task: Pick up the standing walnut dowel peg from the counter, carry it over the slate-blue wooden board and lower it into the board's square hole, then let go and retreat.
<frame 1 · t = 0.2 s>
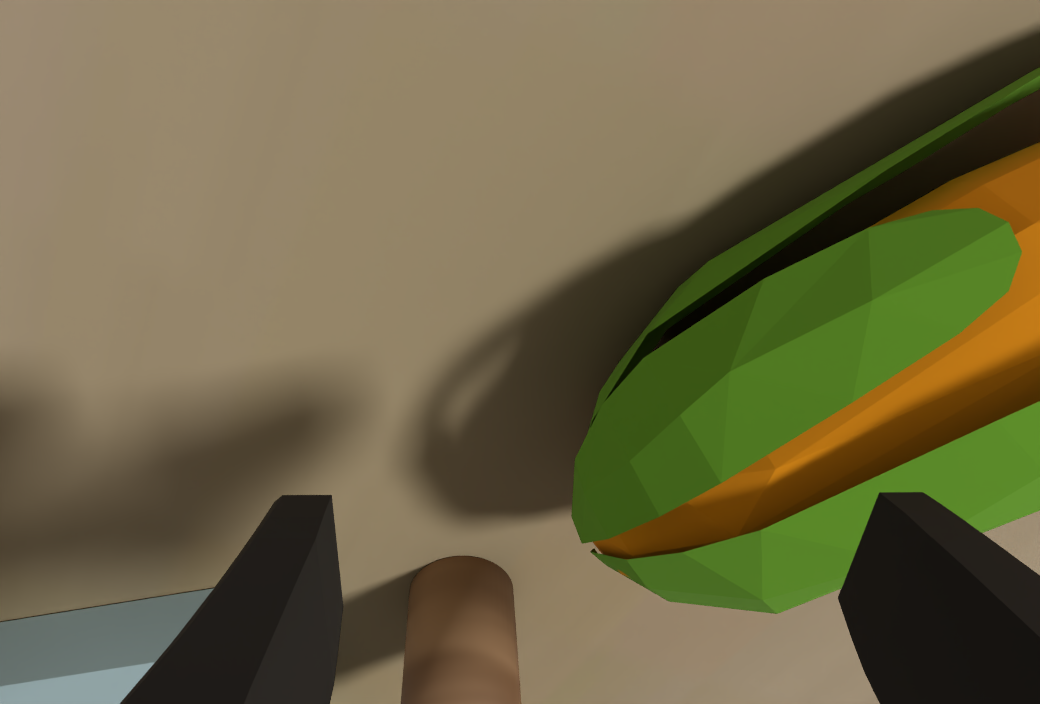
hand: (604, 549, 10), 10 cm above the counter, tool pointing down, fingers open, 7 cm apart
corn: (882, 241, 19), on the counter
peg: (461, 592, 25), on the counter
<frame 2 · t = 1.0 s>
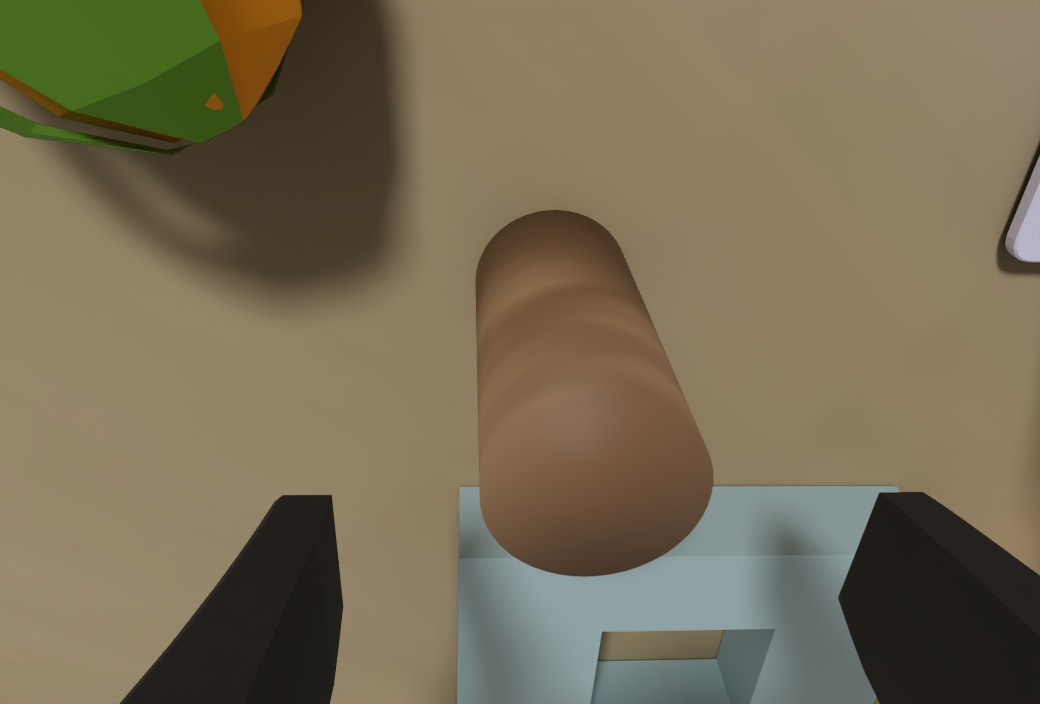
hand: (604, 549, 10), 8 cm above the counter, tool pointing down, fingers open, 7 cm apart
board: (656, 611, 23), on the counter
peg: (551, 282, 17), on the counter
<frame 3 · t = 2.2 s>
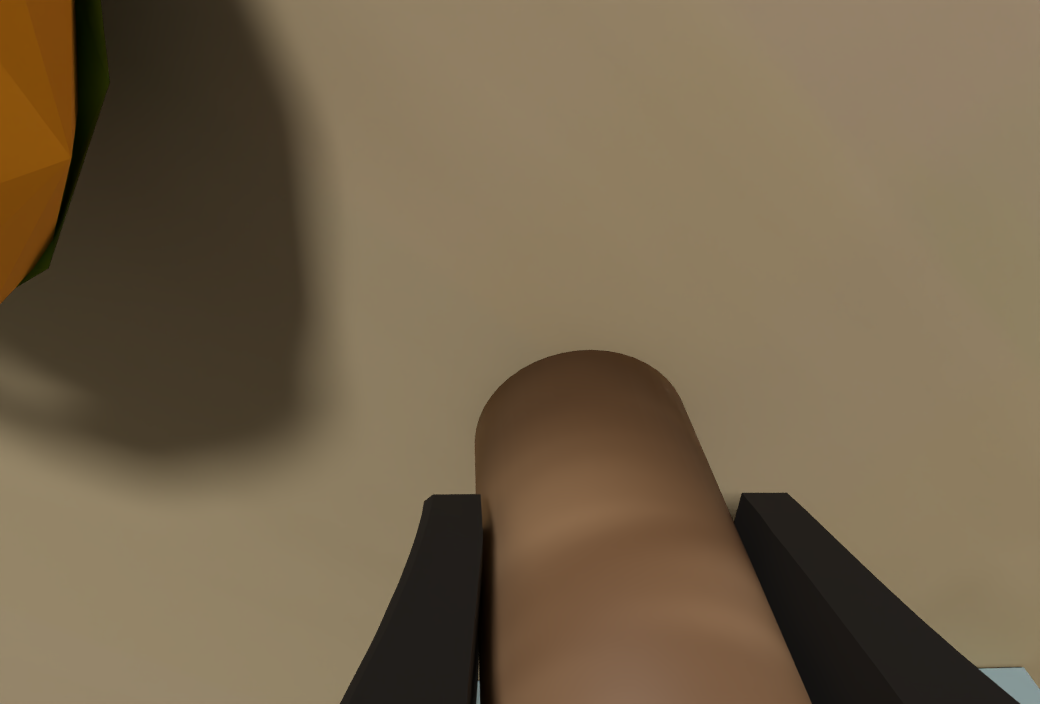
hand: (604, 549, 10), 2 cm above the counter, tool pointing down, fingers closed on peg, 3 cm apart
peg: (581, 441, 12), on the counter, touching gripper
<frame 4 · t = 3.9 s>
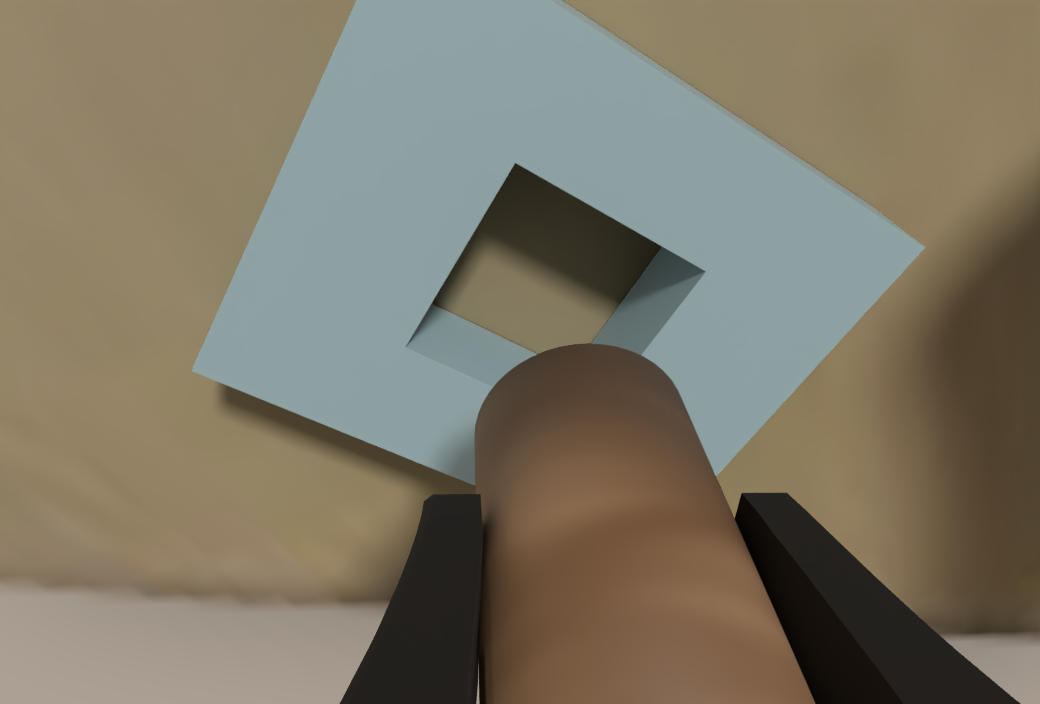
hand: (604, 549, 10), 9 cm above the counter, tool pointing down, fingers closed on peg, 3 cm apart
board: (542, 260, 18), on the counter
peg: (580, 435, 12), point 7 cm above the counter, touching gripper
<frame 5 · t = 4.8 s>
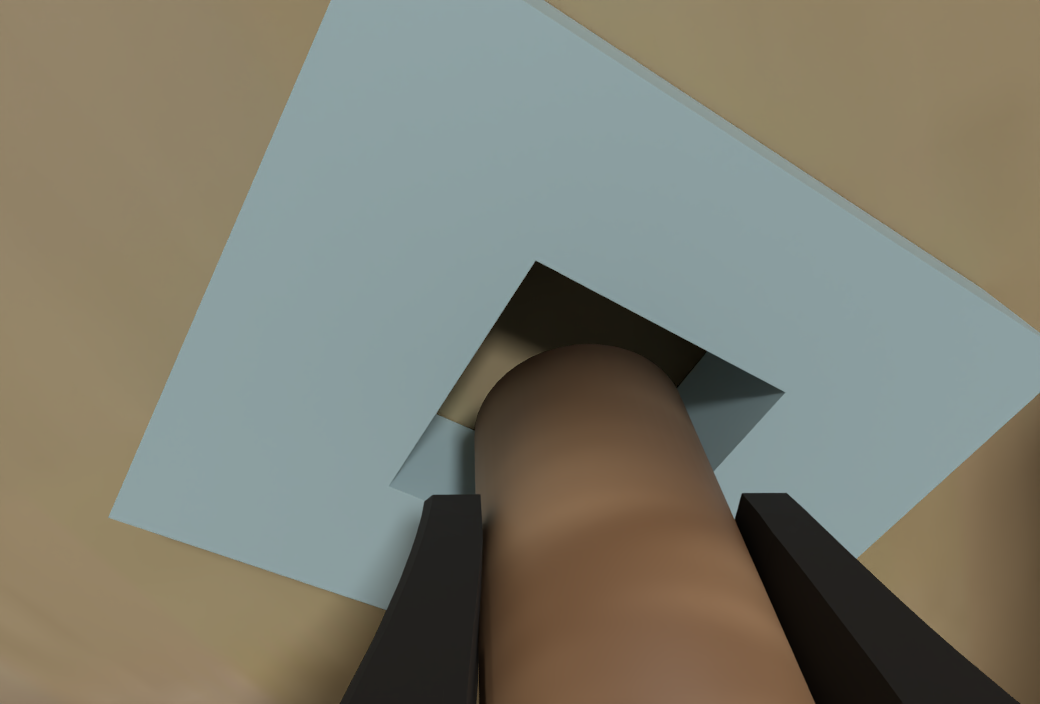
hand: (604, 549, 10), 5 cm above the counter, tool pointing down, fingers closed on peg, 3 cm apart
board: (565, 357, 14), on the counter
peg: (580, 435, 12), point 2 cm above the counter, touching gripper
when the fingers open (3 cm above the counter, at t = 5.5 s): peg stays where it is, resting in board.
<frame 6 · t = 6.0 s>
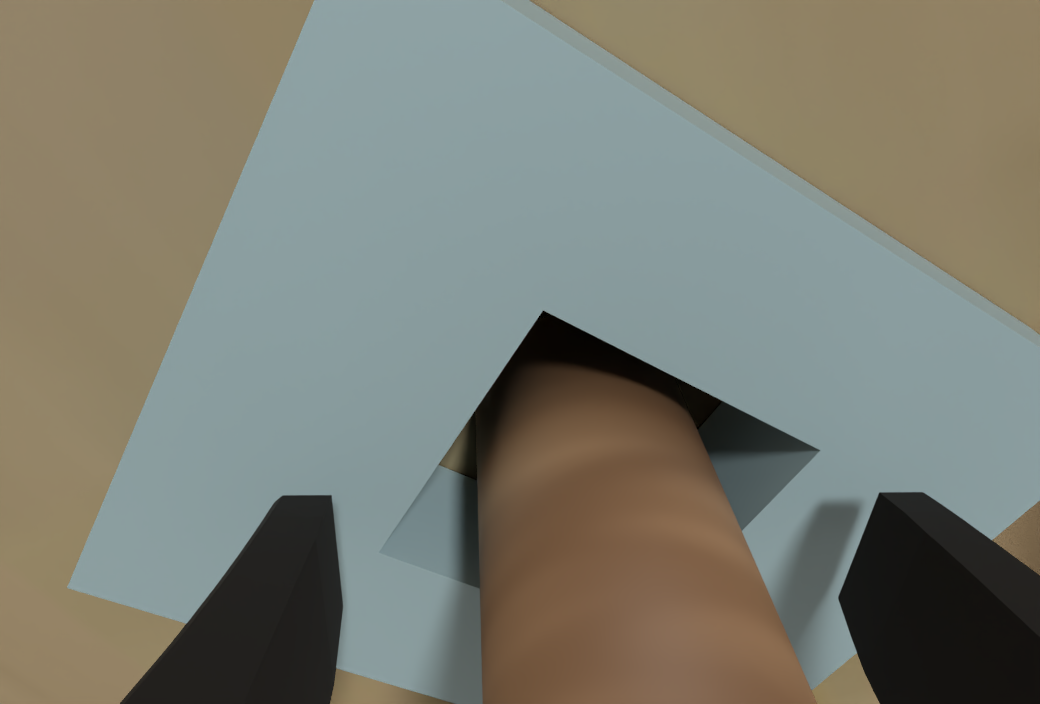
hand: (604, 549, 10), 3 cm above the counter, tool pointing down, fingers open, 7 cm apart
board: (573, 402, 13), on the counter
peg: (574, 399, 13), resting in board
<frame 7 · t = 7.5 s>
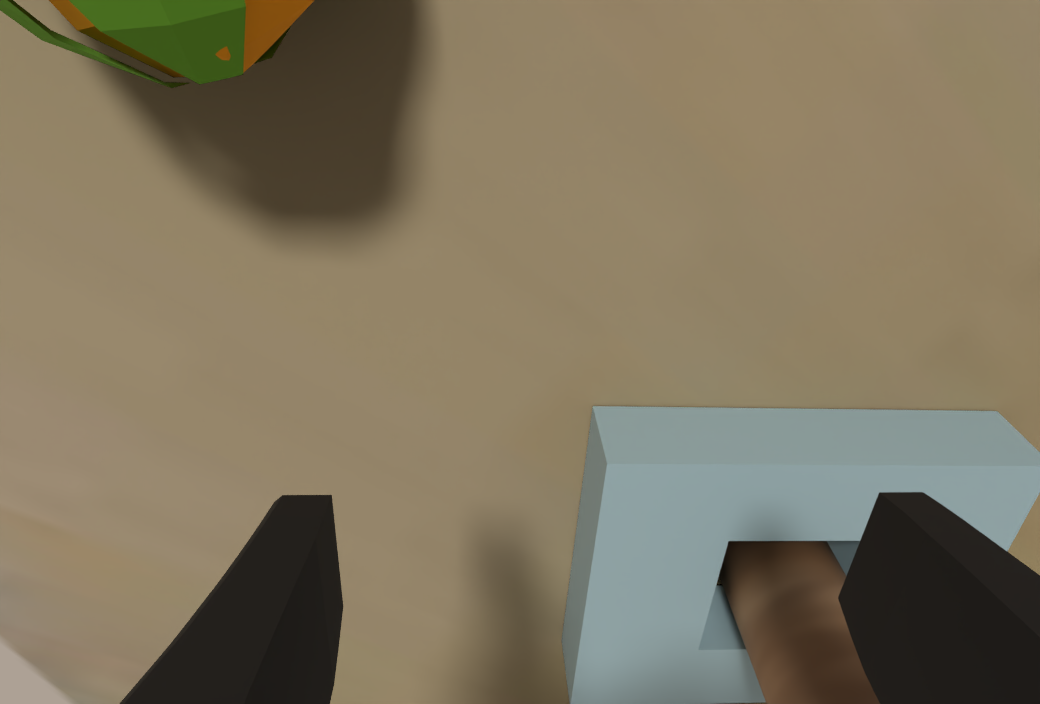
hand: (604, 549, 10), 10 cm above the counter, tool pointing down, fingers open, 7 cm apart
board: (760, 535, 24), on the counter
peg: (760, 533, 24), resting in board
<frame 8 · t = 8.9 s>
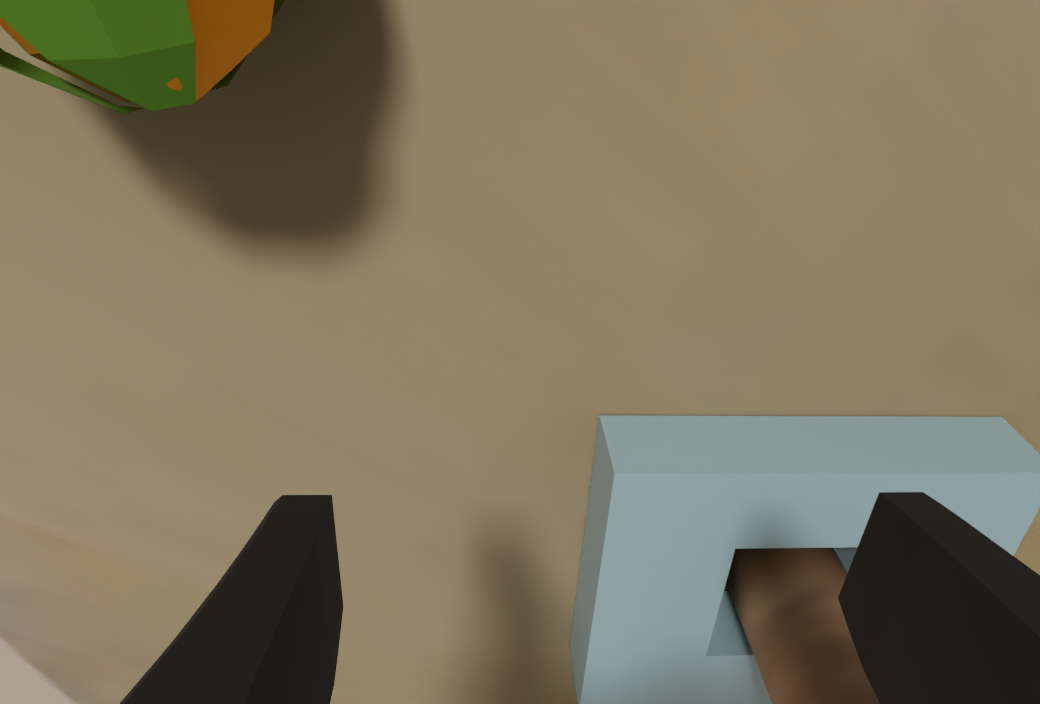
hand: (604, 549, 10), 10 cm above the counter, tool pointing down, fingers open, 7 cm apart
board: (766, 541, 24), on the counter
peg: (766, 539, 24), resting in board
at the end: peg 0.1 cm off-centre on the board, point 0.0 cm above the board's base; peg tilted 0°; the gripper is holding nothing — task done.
